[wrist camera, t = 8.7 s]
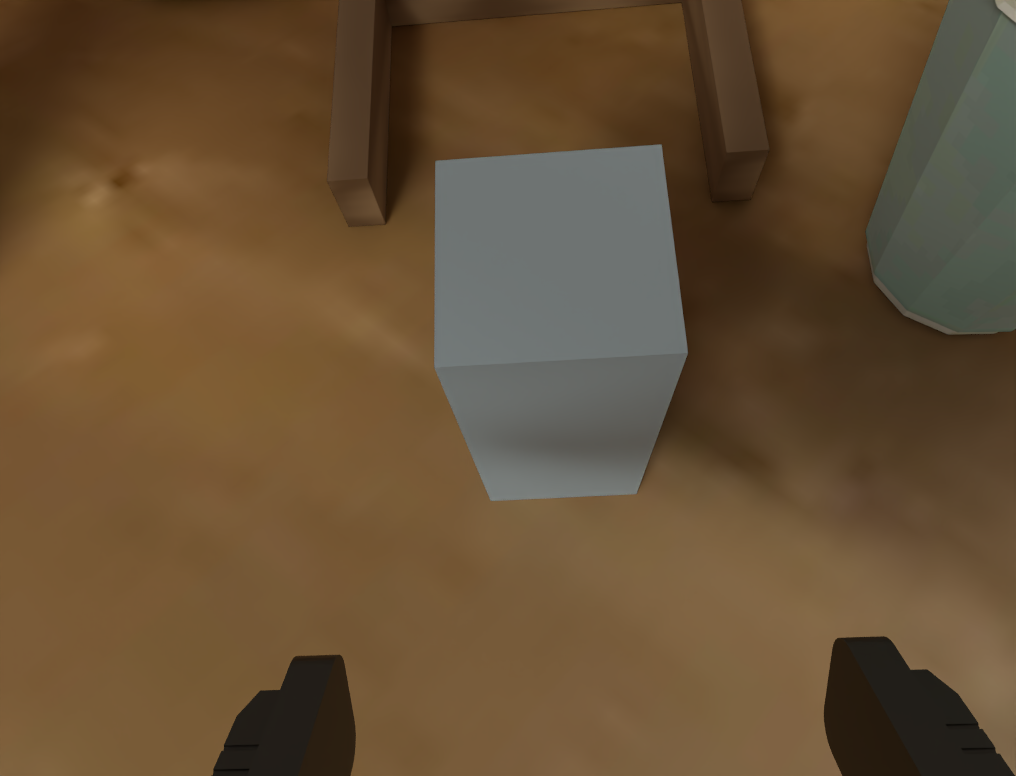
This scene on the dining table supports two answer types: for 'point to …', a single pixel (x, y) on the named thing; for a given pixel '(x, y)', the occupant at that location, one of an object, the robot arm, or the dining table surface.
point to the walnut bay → (385, 3)
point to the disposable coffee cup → (955, 181)
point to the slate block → (557, 316)
